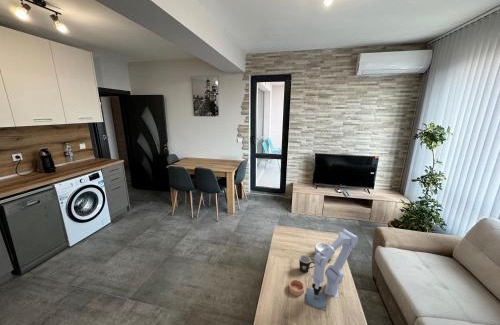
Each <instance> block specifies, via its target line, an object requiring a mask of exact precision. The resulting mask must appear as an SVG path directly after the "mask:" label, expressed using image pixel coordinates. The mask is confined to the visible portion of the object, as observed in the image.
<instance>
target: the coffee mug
mask: <svg viewBox="0 0 500 325" xmlns="http://www.w3.org/2000/svg"><path fill="white" fill-rule="evenodd" d="M298 259H299V271H300V272H302V273H304V274H307V273H308V272H309V271H310V269H312V268H315V263H314V261H312V260H311V257H310V256H308V255H304V254H303V255H300V256H299V257H298ZM312 264H314V265H313V266H310V265H312Z"/></svg>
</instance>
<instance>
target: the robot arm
mask: <svg viewBox="0 0 500 325" xmlns="http://www.w3.org/2000/svg"><path fill="white" fill-rule="evenodd" d="M358 241H359V237H358V236H357V235H356V234H354V233H352V232H351V231H348V230H347V229H346V228H343V229H341V230H340V231H339V233H338V237H337V238H336V239H335V240H334V241H333V242H332V243H331V244H330V246H327V247H326V248H324V249H323V250H322V251H321V252H320V253H315V254H314V255H313V258H312V259H313V262H314V263H315V264H314V263H313V264H314V266H315V267H313V268H314V269H313V274H311V278H312V279H313V282H314V283H312V284H311V287H312V289H313V290H314V294H315V295H318V294H319V292H321V291H322V288H323V287H322V286H320V285H321V284H322V283H323V282H324V275H325V276H326V283H325V290H324V294H327V296H328V295H329V296H331V297H334V298H337V299H338V298H339V285H340V284H342V282H343V278H344V272H343V270H342V269H343V267H344V265H345V263H346V261H347V259H348V257H349V256H350V254H351V252H352V249H355V247H356V246H357V243H358ZM340 247H342V248H341V250H340V252H339V253H338V256H337V257H336V259H335V262H334V263H333V264H329V265H328V267H327V268H326V269H325V267H326V265H327V263H328V262H329V260H330V259H329V258H330V257H331V256H332V255H335V254H336V252H335V251H337V250H338V249H339V248H340Z"/></svg>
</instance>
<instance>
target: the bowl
mask: <svg viewBox="0 0 500 325" xmlns="http://www.w3.org/2000/svg"><path fill="white" fill-rule="evenodd" d="M288 290H289V292H290V293H291V294H292V295H293V296H297V297H299V296H303V294H304V293H305V283H304V282H303V281H301V280H300V279H296V278H295V279H291V280H290V281H289V283H288Z"/></svg>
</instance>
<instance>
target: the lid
mask: <svg viewBox="0 0 500 325" xmlns="http://www.w3.org/2000/svg"><path fill="white" fill-rule="evenodd" d="M306 291H307V290H306ZM322 293H323V292H321V291H320V292H319V294H318V295H315V294H314V289H313V290H309V291H307V292H305V296H306V300H307V302H308V303H309V304H310V305H311V306H310V305H309V306H310V307H312V306H313V308H315V307H316V308H315V309H318V308H323V307H324V306H325V305H326V306H327V302H328V301H327V300H328V299H327V300H326V297H325V296H324V295H323V294H322Z"/></svg>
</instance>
